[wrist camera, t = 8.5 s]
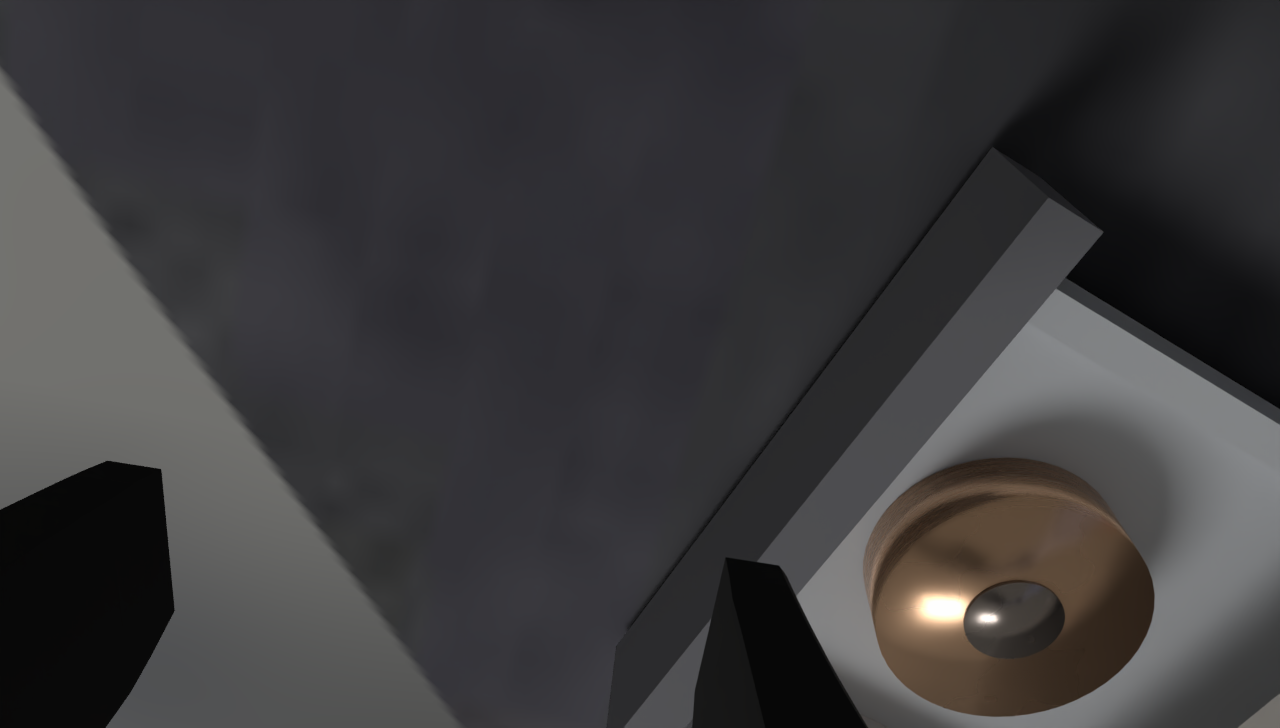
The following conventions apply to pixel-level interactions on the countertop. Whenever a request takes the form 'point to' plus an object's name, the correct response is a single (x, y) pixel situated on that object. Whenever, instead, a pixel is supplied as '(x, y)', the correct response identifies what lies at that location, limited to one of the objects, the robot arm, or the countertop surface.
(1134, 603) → the disc
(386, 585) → the countertop surface
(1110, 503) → the tray
